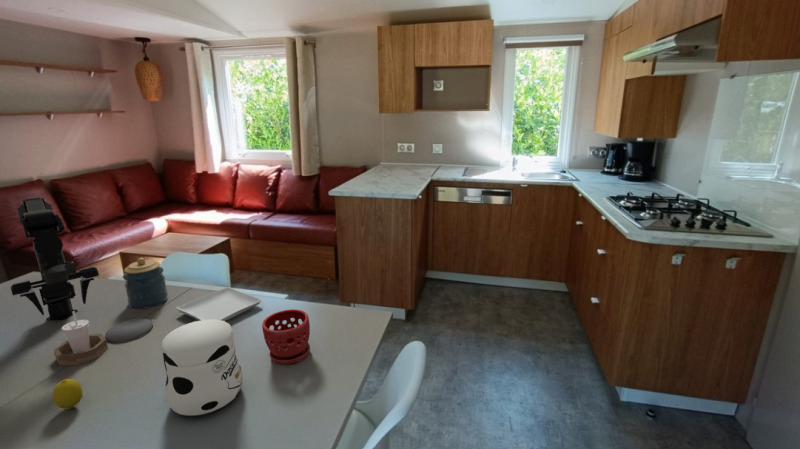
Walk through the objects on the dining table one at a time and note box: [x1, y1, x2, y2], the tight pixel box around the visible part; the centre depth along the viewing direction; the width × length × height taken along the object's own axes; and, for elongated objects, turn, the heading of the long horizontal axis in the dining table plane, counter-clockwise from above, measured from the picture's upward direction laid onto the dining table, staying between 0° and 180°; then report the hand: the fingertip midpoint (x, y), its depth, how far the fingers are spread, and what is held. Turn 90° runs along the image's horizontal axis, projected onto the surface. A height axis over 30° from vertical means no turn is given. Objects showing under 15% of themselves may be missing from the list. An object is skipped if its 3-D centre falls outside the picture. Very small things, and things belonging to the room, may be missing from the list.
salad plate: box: [175, 287, 262, 322], centre depth 145 cm, size 21×21×3 cm
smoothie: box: [61, 311, 91, 354], centre depth 118 cm, size 6×6×14 cm
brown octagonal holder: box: [53, 333, 109, 367], centre depth 120 cm, size 12×12×3 cm
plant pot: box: [261, 308, 311, 365], centre depth 117 cm, size 13×13×12 cm
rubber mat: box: [104, 318, 154, 343], centre depth 132 cm, size 13×13×1 cm
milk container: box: [161, 319, 244, 417], centre depth 99 cm, size 17×17×18 cm
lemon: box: [52, 378, 83, 410], centre depth 97 cm, size 6×6×8 cm
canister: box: [122, 257, 169, 310], centre depth 150 cm, size 13×13×18 cm
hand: (64, 309), depth 114 cm, fingers open, 9 cm apart
